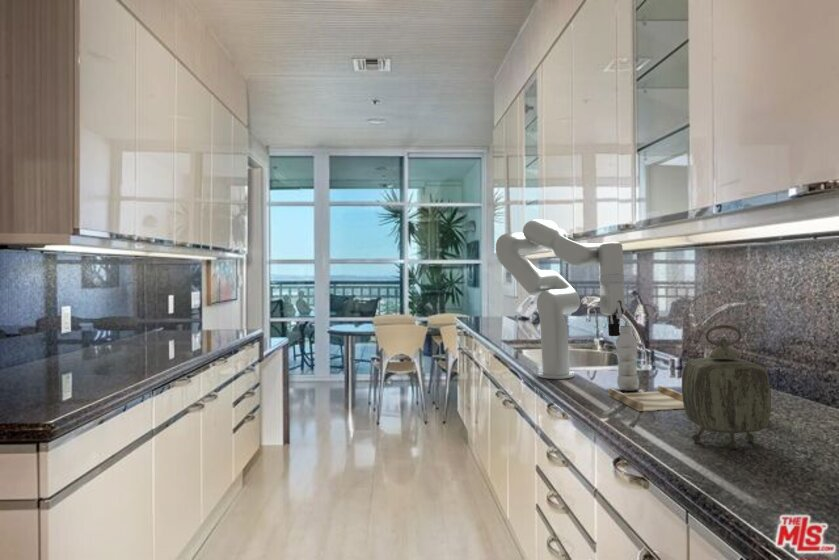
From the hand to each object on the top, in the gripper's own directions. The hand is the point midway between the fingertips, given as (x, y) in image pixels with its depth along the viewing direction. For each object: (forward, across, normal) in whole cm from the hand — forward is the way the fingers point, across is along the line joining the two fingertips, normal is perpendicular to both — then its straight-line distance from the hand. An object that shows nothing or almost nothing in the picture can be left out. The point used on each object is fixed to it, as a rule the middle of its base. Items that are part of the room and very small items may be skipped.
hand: (614, 335), depth 174 cm
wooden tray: (+16, +24, 0) cm, 29 cm away
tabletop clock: (+16, +64, -3) cm, 66 cm away
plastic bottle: (+16, +9, 0) cm, 19 cm away
